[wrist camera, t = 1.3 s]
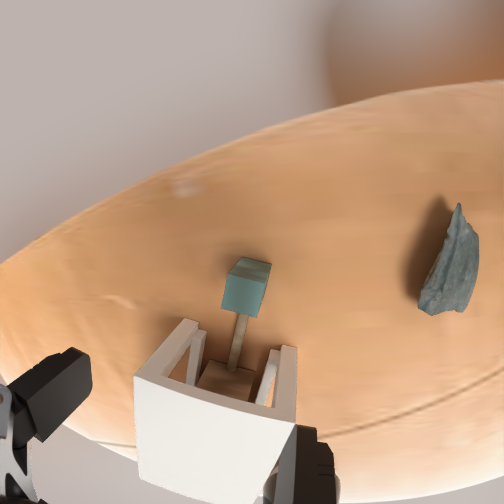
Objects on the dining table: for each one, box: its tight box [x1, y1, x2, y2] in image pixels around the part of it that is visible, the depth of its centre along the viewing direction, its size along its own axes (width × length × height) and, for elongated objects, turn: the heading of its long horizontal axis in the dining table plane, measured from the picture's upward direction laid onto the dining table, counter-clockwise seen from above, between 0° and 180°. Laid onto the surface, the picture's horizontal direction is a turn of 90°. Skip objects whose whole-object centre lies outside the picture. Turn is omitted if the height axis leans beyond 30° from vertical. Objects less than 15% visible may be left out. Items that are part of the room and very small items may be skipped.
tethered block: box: [196, 257, 272, 402], centre depth 26 cm, size 5×17×6 cm, turn 167°
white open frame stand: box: [134, 318, 297, 504], centre depth 25 cm, size 12×16×11 cm
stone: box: [418, 203, 479, 316], centre depth 23 cm, size 11×4×10 cm
